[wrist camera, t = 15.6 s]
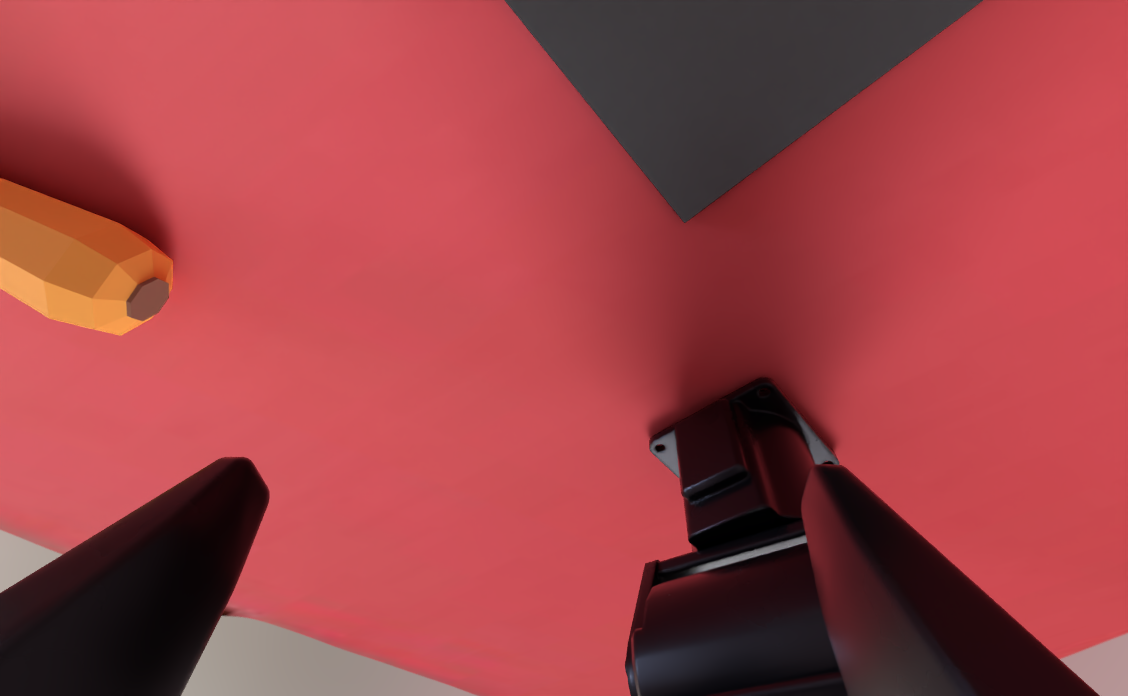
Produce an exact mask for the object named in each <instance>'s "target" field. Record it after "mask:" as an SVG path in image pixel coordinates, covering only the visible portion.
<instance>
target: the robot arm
mask: <svg viewBox="0 0 1128 696" xmlns="http://www.w3.org/2000/svg"><path fill="white" fill-rule="evenodd" d="M762 388H768V389H767V390H765V391H760V390H761V389H762ZM658 444H663V445H662V446H657V445H658ZM649 446H650V451H651V452H652V453H653V454H654V455H655V456H656V457H657V458H658V459H659V460H660V461H661V462H662V463H663V464H664V465H666V466H667V467H668V468H669V469H670V470H671V471H672V472H673V473H674V474H675V475H676V476H677V477H678V478H680V485H681V493H682V496H683V497H684V506H685V515H686V523H687V532H688V541H689V542H690V543H691V544H692V552H691V553H687V554H684V555H681V556H677V557H674V558H671V559H667V560H664V561H661V562H660V561H659V560H655V561H652V562H649V563H646V564H645V567H644V572H643V576H642V581H641V585H640V590H639V595H638V599H637V604H636V608H635V613H634V618H633V622H632V627H631V631H630V636H629V641H628V647H627V657H626V661H625V669H626V673H627V676H628V684H629V689H630V694H631V696H1099V695H1098V694H1097V693H1096V692H1095V691H1094V690H1093V689H1092V688H1091V687H1089V686H1088V685H1087V684H1086V683H1085V682H1084V681H1083V680H1082V679H1081V678H1080V677H1078V676H1077V675H1076V674H1075V673H1074V672H1073V671H1072V670H1071V669H1069V668H1068V667H1067V666H1066V665H1065V664H1064V663H1063V662H1062V661H1061V660H1060V659H1058V658H1057V657H1056V656H1055V655H1054V654H1053V653H1052V652H1051V651H1050V650H1048V649H1047V648H1046V647H1045V646H1044V645H1043V644H1042V643H1041V642H1039V641H1038V640H1037V639H1036V638H1035V637H1034V636H1033V635H1032V634H1031V633H1029V632H1028V631H1027V630H1026V629H1025V628H1024V627H1023V626H1022V625H1021V624H1019V623H1018V622H1017V621H1016V620H1015V619H1014V618H1013V617H1012V616H1011V615H1009V614H1008V613H1007V612H1006V611H1005V610H1004V609H1003V608H1002V607H1001V606H999V605H998V604H997V603H996V602H995V601H994V600H993V599H992V598H991V597H989V596H988V595H987V594H986V593H985V592H984V591H983V590H982V589H981V588H979V587H978V586H977V585H976V584H975V583H974V582H973V581H972V580H970V579H969V578H968V577H967V576H966V575H965V574H964V573H963V572H962V571H960V570H959V569H958V568H957V567H956V566H955V565H954V564H953V563H952V562H950V561H949V560H948V559H947V558H946V557H945V556H944V555H943V554H942V553H940V552H939V551H938V550H937V549H936V548H935V547H934V546H933V545H932V544H930V543H929V542H928V541H927V540H926V539H925V538H924V537H923V536H922V535H920V534H919V533H918V532H917V531H916V530H915V529H914V528H913V527H912V526H910V525H909V524H908V523H907V522H906V521H905V520H904V519H903V518H901V517H900V516H899V515H898V514H897V513H896V512H895V511H894V510H893V509H891V508H890V507H889V506H888V505H887V504H886V503H885V502H884V501H883V500H881V499H880V498H879V497H878V496H877V495H876V494H875V493H874V492H873V491H871V490H870V489H869V488H868V487H867V486H866V485H865V484H864V483H863V482H861V481H860V480H859V479H858V478H857V477H856V476H855V475H854V474H853V473H851V472H850V471H849V470H848V469H847V468H845V467H844V466H842V465H839V461H838V459H837V457H836V454H835V453H834V452H833V451H832V449H831V448H830V447H829V446H828V445H827V444H826V442H825V441H824V440H823V439H822V438H821V437H820V435H819V434H818V433H817V432H816V431H815V429H814V428H813V427H812V426H811V425H810V424H809V422H808V421H807V420H806V419H805V418H804V417H803V415H802V414H801V413H800V412H799V411H798V409H797V408H796V407H795V406H794V405H793V404H792V402H791V401H790V400H789V399H788V398H787V397H786V395H785V394H784V393H783V392H782V391H781V389H780V388H779V387H778V386H777V385H776V384H775V382H774V381H773V380H771V379H769V378H759V379H757V380H755V381H753V382H751V383H749V384H747V385H746V386H744V387H742V388H740V389H738V390H737V391H735V392H733V393H731V394H729V395H727V396H726V397H724V398H722V399H720V400H718V401H716V402H715V403H713V404H711V405H709V406H707V407H705V408H704V409H702V410H700V411H698V412H696V413H694V414H693V415H691V416H689V417H687V418H685V419H683V420H682V421H680V422H678V423H676V424H674V425H673V426H671V427H669V428H667V429H665V430H663V431H662V432H660V433H658V434H656V435H654V436H653V437H651V438H650V440H649ZM825 461H828V462H825ZM268 503H269V489H268V487H267V485H266V484H265V482H264V480H263V479H262V477H261V475H260V474H259V472H258V470H257V469H256V467H255V465H254V464H253V462H252V461H251V460H250V459H248V458H245V457H224V458H221V459H218V460H216V461H215V462H213V463H212V464H210V465H208V466H207V467H205V468H203V469H202V470H200V471H199V472H197V473H195V474H194V475H192V476H190V477H189V478H187V479H185V480H184V481H182V482H181V483H179V484H177V485H176V486H174V487H172V488H171V489H169V490H168V491H166V492H164V493H163V494H161V495H159V496H158V497H156V498H155V499H153V500H151V501H150V502H148V503H146V504H145V505H143V506H141V507H140V508H138V509H137V510H135V511H133V512H132V513H130V514H128V515H127V516H125V517H124V518H122V519H120V520H119V521H117V522H115V523H114V524H112V525H110V526H109V527H107V528H106V529H104V530H102V531H101V532H99V533H97V534H96V535H94V536H93V537H91V538H89V539H88V540H86V541H84V542H83V543H81V544H80V545H78V546H76V547H75V548H73V549H71V550H70V551H68V552H66V553H65V554H63V555H62V556H60V557H58V558H57V559H55V560H53V561H52V562H50V563H49V564H47V565H45V566H44V567H42V568H40V569H39V570H37V571H35V572H34V573H32V574H31V575H29V576H27V577H26V578H24V579H23V580H21V581H19V582H18V583H16V584H14V585H13V586H11V587H9V588H8V589H6V590H5V591H3V592H1V593H0V696H181V694H182V692H183V690H184V689H185V687H186V684H187V683H188V681H189V679H190V677H191V675H192V673H193V671H194V669H195V667H196V664H197V663H198V661H199V659H200V657H201V655H202V653H203V651H204V649H205V647H206V645H207V643H208V641H209V639H210V637H211V635H212V633H213V631H214V629H215V627H216V625H217V623H218V621H219V619H220V617H221V615H222V613H223V611H224V609H225V607H226V605H227V603H228V601H229V599H230V597H231V595H232V593H233V591H234V588H235V586H236V584H237V581H238V579H239V577H240V574H241V572H242V569H243V567H244V564H245V561H246V559H247V556H248V554H249V551H250V549H251V546H252V544H253V541H254V539H255V536H256V534H257V531H258V529H259V526H260V523H261V521H262V518H263V516H264V513H265V511H266V508H267V506H268Z"/></svg>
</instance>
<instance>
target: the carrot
mask: <svg viewBox="0 0 1128 696" xmlns="http://www.w3.org/2000/svg"><path fill="white" fill-rule="evenodd" d="M172 283H173V260H172V259H170V258H169V257H168V256H167V255H166V254H164V253H163V252H162V251H161V250H160V249H158V248H157V247H156V246H155V245H154V244H152V243H151V242H150V241H149V240H148V239H146V238H145V237H143V236H141V235H139V234H137V233H136V232H134V231H132V230H130V229H129V228H127V227H125V226H123V225H121V224H120V223H117V222H115V221H112V220H110V219H107V218H104V217H102V216H99V215H97V214H94V213H91V212H89V211H86V210H83V209H81V208H78V207H76V206H73V205H70V204H68V203H65V202H62V201H60V200H57V199H55V198H52V197H49V196H47V195H44V194H42V193H39V192H36V191H34V190H31V189H28V188H26V187H23V186H21V185H18V184H15V183H13V182H10V181H8V180H5V179H2V178H0V288H1V289H2V290H4V291H6V292H7V293H9V294H10V295H12V296H14V297H15V298H17V299H18V300H20V301H22V302H23V303H25V304H27V305H28V306H30V307H31V308H33V309H35V310H36V311H38V312H39V313H41V314H43V315H44V316H46V317H48V318H49V319H53V320H57V321H61V322H65V323H70V324H74V325H78V326H82V327H86V328H90V329H95V330H99V331H103V332H107V333H112V334H116V335H120V336H121V335H123V334H125V333H127V332H128V331H130V330H132V329H134V328H135V327H137V326H139V325H141V324H143V323H144V322H146V321H148V320H150V319H152V318H153V316H154V315H155V314H157V313H158V312H159V311H160V310H161V308H162V307H163V305H164V304H165V302H166V301H167V299H168V298H169V293H170V291H171V290H172Z"/></svg>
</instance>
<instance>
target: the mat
mask: <svg viewBox="0 0 1128 696" xmlns="http://www.w3.org/2000/svg"><path fill="white" fill-rule="evenodd" d="M505 1H506V3H507V4H508V5H509V6H510V8H511V9H512V10H513V11H514V12H515V14H516V15H517V16H518V17H519V19H520V20H521V21H522V22H523V24H524V25H525V26H526V27H527V29H528V30H529V31H530V32H531V34H532V35H533V36H534V37H535V38H536V40H537V41H538V42H539V43H540V45H541V46H542V47H543V48H544V50H545V51H546V52H547V53H548V55H549V56H550V57H551V58H552V60H553V61H554V62H555V63H556V65H557V66H558V67H559V68H560V69H561V71H562V72H563V73H564V74H565V76H566V77H567V78H568V79H569V81H570V82H571V83H572V84H573V86H574V87H575V88H576V89H577V91H578V92H579V93H580V94H581V95H582V97H583V98H584V99H585V100H586V102H587V103H588V104H589V105H590V107H591V108H592V109H593V110H594V112H595V113H596V114H597V115H598V117H599V118H600V119H601V120H602V122H603V123H604V124H605V125H606V126H607V128H608V129H609V130H610V131H611V133H612V134H613V135H614V136H615V138H616V139H617V140H618V141H619V143H620V144H621V145H622V146H623V148H624V149H625V150H626V151H627V152H628V154H629V155H630V156H631V157H632V159H633V160H634V161H635V162H636V164H637V165H638V166H639V167H640V169H641V170H642V171H643V172H644V174H645V175H646V176H647V177H648V179H649V180H650V181H651V182H652V183H653V185H654V186H655V187H656V188H657V190H658V191H659V192H660V193H661V195H662V196H663V197H664V198H665V200H666V201H667V202H668V203H669V205H670V206H671V207H672V208H673V209H674V211H675V212H676V213H677V214H678V216H679V217H680V218H681V219H682V221H683V222H684V223H686V222H687V221H688V220H690V219H691V218H692V217H694V216H695V215H696V214H698V213H699V212H700V211H702V210H703V209H704V208H706V207H707V206H708V205H710V204H711V203H712V202H714V201H715V200H716V199H718V198H719V197H720V196H722V195H723V194H724V193H726V192H727V191H728V190H730V189H731V188H732V187H734V186H735V185H736V184H738V183H739V182H740V181H742V180H743V179H745V178H746V177H747V176H749V175H750V174H751V173H753V172H754V171H755V170H757V169H758V168H759V167H761V166H762V165H763V164H765V163H766V162H767V161H769V160H770V159H771V158H773V157H774V156H775V155H777V154H778V153H779V152H781V151H782V150H783V149H785V148H786V147H787V146H789V145H790V144H791V143H793V142H794V141H795V140H797V139H798V138H799V137H801V136H802V135H803V134H805V133H806V132H807V131H809V130H810V129H811V128H813V127H814V126H816V125H817V124H818V123H820V122H821V121H822V120H824V119H825V118H826V117H828V116H829V115H830V114H832V113H833V112H834V111H836V110H837V109H838V108H840V107H841V106H842V105H844V104H845V103H846V102H848V101H849V100H850V99H852V98H853V97H854V96H856V95H857V94H858V93H860V92H861V91H862V90H864V89H865V88H866V87H868V86H869V85H870V84H872V83H873V82H874V81H876V80H877V79H878V78H880V77H881V76H883V75H884V74H885V73H887V72H888V71H889V70H891V69H892V68H893V67H895V66H896V65H897V64H899V63H900V62H901V61H903V60H904V59H905V58H907V57H908V56H909V55H911V54H912V53H913V52H915V51H916V50H917V49H919V48H920V47H921V46H923V45H924V44H925V43H927V42H928V41H929V40H931V39H932V38H933V37H935V36H936V35H937V34H939V33H940V32H941V31H943V30H944V29H945V28H947V27H948V26H949V25H951V24H952V23H954V22H955V21H956V20H958V19H959V18H960V17H962V16H963V15H964V14H966V13H967V12H968V11H970V10H971V9H972V8H974V7H975V6H976V5H978V4H979V3H980V2H982V1H983V0H505Z"/></svg>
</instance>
